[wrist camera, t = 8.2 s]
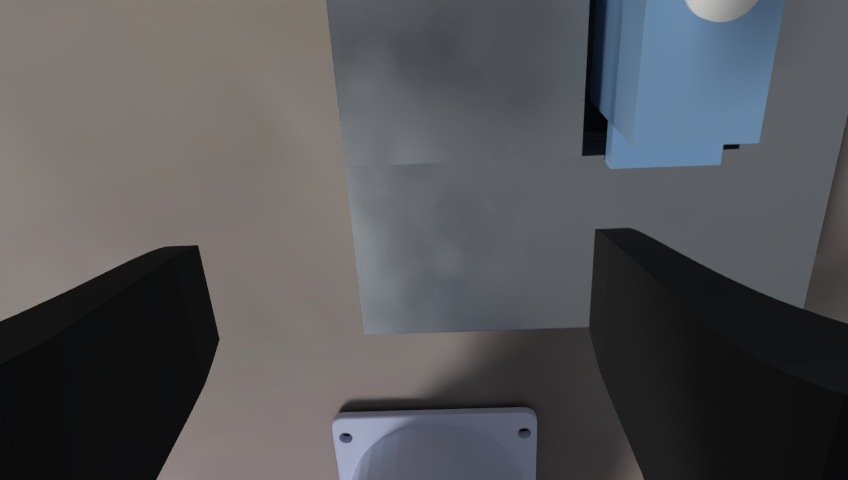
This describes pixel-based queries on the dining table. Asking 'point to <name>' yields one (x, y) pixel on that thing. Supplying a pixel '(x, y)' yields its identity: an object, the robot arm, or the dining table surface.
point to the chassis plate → (555, 164)
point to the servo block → (681, 77)
